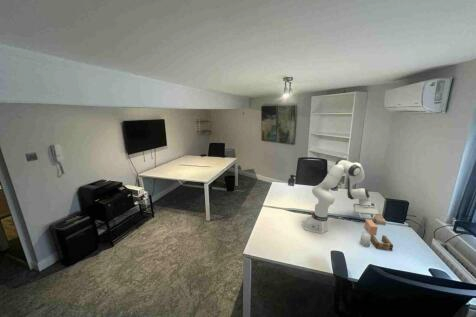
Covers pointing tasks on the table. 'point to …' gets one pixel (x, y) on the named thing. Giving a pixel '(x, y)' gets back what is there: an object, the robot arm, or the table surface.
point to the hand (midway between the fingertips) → (367, 218)
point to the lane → (378, 245)
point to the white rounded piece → (365, 239)
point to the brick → (379, 219)
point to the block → (370, 227)
